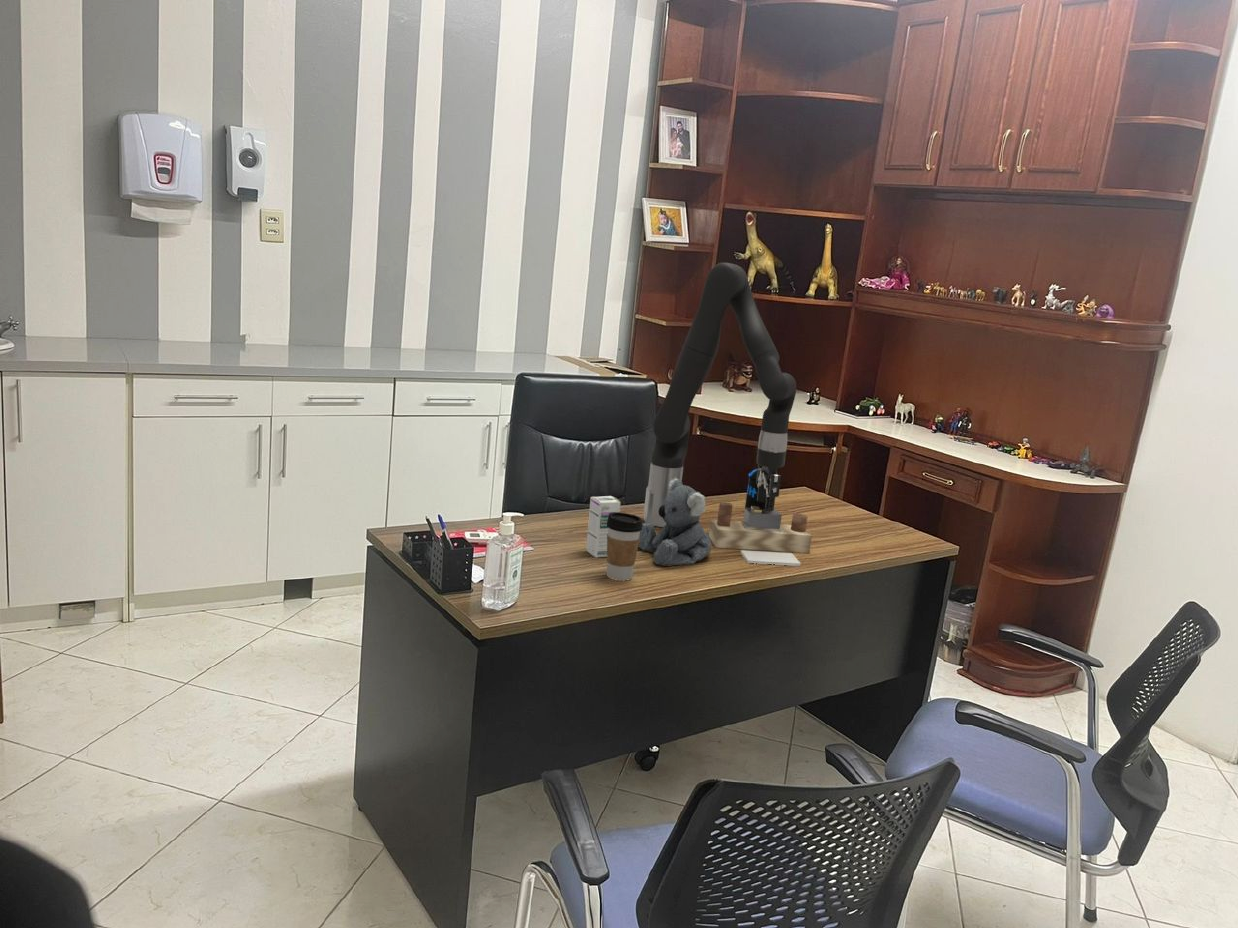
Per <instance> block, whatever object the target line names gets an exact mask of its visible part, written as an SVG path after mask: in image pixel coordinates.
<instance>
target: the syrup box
mask: <svg viewBox="0 0 1238 928" xmlns="http://www.w3.org/2000/svg"><path fill="white" fill-rule="evenodd" d="M612 512H619V513H621V501H620V500H619V499H618V498H617V497H614V496H612V495H605V496H603V495H602V496H590V501H589V513H588V527H587V537H586V538H587V539H586V548H585V549H586V551H587V552H588V553H589V555H591V556H593V557H594V558H595V559H596V558H597V559H598V558H605V557H606V558H607V534H608V527H607V521H608V517H609V514H610V513H612Z"/></svg>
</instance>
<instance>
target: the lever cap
mask: <svg viewBox="0 0 1238 928" xmlns="http://www.w3.org/2000/svg"><path fill="white" fill-rule="evenodd" d="M782 516H783V515H782V514H781V513H780V511H778V510H777V509H774V510H773V511H766V510H765V509H760V508H759V507H758V506H751V508H745V507H744V513H743V520H742V522H744V524H745V525H746V526H747V527H752V528H768V529H780V524H782Z"/></svg>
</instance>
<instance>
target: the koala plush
mask: <svg viewBox="0 0 1238 928" xmlns="http://www.w3.org/2000/svg"><path fill="white" fill-rule="evenodd" d="M705 496H706V495H703V494H701V492H700V491H696V489H694V488H692V487H691V486H689V485H685V484H684V485H683V481H680V480H678V479H677V478H674V479H672V480H671V481H670V483H669V494H668V495H667V497H666V499H665V501H664V503H663V504H662V505H661V506H660V508H659V515H660V516H661V517H662V518H663V520H664V521H665V523H666V525H665V526H664V527H661V529H660V530H659V531H658V532H657V533H656V529H655V526H653V525H652V524H650V523H648V524H647V523H645V522H644V523H642V525H643V527H642V530H641V531H640V535H639V537H640V540H639V545H638V548H639V549H641V551H645V552H649V553H653V562H654V563H655V564H656V565H657V566H658V565H660V566H662V565H663V567H674V566H675V565H677V566H682V565H690V564H691V565H693V564H695V563H696V562H699V561H701V560H703V559H704V558H705V557H707V556H709V555H710V553H711V549H712V541H711V540H710V538H709V534H707V533H706V531H705V530H704V529H703V527H702V525H701V524H700V517H701V515H702V514H704V513H705V511H706V509H707V508H706V497H705ZM673 565H674V566H673Z"/></svg>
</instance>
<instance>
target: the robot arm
mask: <svg viewBox="0 0 1238 928" xmlns="http://www.w3.org/2000/svg"><path fill="white" fill-rule="evenodd" d="M728 306H730V308H731V309H732V311H733V314H735V318H736V320H737V322H738V327H739V331H740V334H741V338H742V339H741V340H742V342H743V346H744V347H745V349H746V351H747V353H748V355H749V358H750V360H751V362H752V364H753V365H754V367H755V372H756V376H757V379H758V383H759V387H760V389H761V391H762V393H763V395H765V397H766V398H767V399H768V406H767V408H766V409H764V410H763V414H762V420H761V427H760V433H759V436H758V443H757V445H758V446H757V452H756V453H757V454H756V464H757V469H758V472H757V479H756V484H758V485H757V486H758V495H757V501H758V502H765V499H766V504H765V510H766V511H773V510H775V503H776V498H779V497H780V488H781V478H782V476H781V474H779V473H778V469H779V468H783V467H785V464H786V463H785V462H786V455H787V447H788V431H789V423H790V415H791V412H792V409H793V406H794V403H795V398H796V395H797V382H796V379H795V378H794V376H793V375H792V374H790V373H787V372H782V370H781V367H780V365H779V361H780V355H779V352H778V349H777V348H776V346H775V344H774V342H773V340H772V338H771V336H770V334H769V331H768V330H767V327H766V325H765V324H764V321H763V319H762V316H761V315H760V312H759V310H758V307H757V304H756V302H755V298H754V296H753V292H752V289H751V285H750V282H749V279H748V276H747V273H746V272H745V270H744V268H743V267H741V266H740V265H737V264H736V263H735V264H734V263H730V262H719V263H717V264H715V265H714V266H713V267H711V269H710V270H709V272H708V274H707V276H706V280H705V283H704V286H703V291H702V293H701V298H700V302H699V305H698V308H697V311H696V313H695V316H694V319H693V321H692V322H691V326H690V328H689V330H688V333H687V335H686V338H685V341H684V343H683V345H682V348H681V351H680V353H679V356H678V359H677V362H676V365H675V368H674V371H673V375H672V378H671V379H670V380H671V381H670V385H669V387H668V390H667V392H666V395H665V396H664V397H665V398H664V399H663V400H662V401H663V402H662V403H661V405H660V407H659V410H658V411H657V413H656V414H655V417H654V418H653V422H652V430H653V434H654V436H655V443H654V447H653V451H652V452H651V458H650V465H649V466H650V467H649V474H648V475H649V476H648V477H649V478H648V485H647V487H646V489H645V501H644V508H643V518H642V520H643V521H644V523H647V524H648V523H650V524H652V525H653V526H654V527H659V528H663V527H664V526H665V525H666V523H665V521H664V520H663V518H662V517H661V516H660V515H659V508H660V506H661V505H662V504H663V503H664V501H665V499H666V497H667V495H668V494H669V483H670V481H671V480H672V479H674V478H677V479H678V480H680V481H681V482H683V481H682V480H683V472H684V463H685V459H686V455H687V451H688V443H689V438H690V431H691V421H690V417H689V412H690V409H691V406H692V403H693V401H694V399H695V397H696V396H697V393H698V392H699V390H700V389H701V387H702V385H703V384H704V382H705V380H706V379H707V377H708V374H709V372H710V371H711V369H712V366H713V364H714V361H715V358H716V356H717V354H718V350H719V346H720V340H721V329H722V322H723V319H724V316H725V313H726V311H727V308H728ZM772 490H773V492H772ZM766 495H767V497H766Z"/></svg>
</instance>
